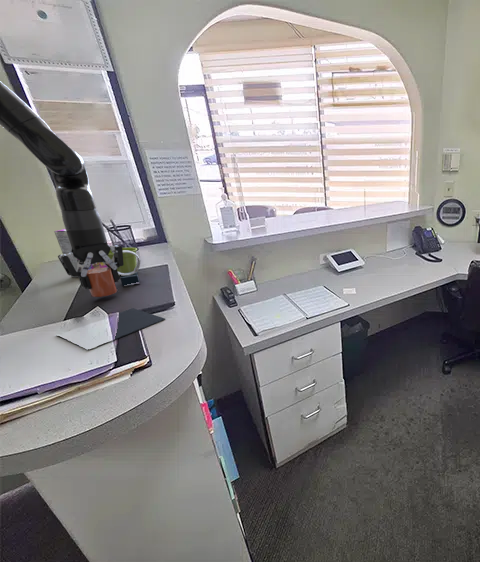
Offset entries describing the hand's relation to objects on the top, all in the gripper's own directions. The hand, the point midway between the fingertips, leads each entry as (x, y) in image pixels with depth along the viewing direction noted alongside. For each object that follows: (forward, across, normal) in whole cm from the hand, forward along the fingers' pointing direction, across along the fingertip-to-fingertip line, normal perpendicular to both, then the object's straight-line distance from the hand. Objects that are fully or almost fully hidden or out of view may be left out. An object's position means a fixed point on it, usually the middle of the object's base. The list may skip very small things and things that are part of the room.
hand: (101, 284), depth 89 cm
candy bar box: (+4, -10, -32) cm, 34 cm away
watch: (+4, -10, -7) cm, 13 cm away
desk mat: (+4, +9, +22) cm, 24 cm away
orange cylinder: (+3, 0, 0) cm, 3 cm away
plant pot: (+4, -15, -19) cm, 25 cm away
